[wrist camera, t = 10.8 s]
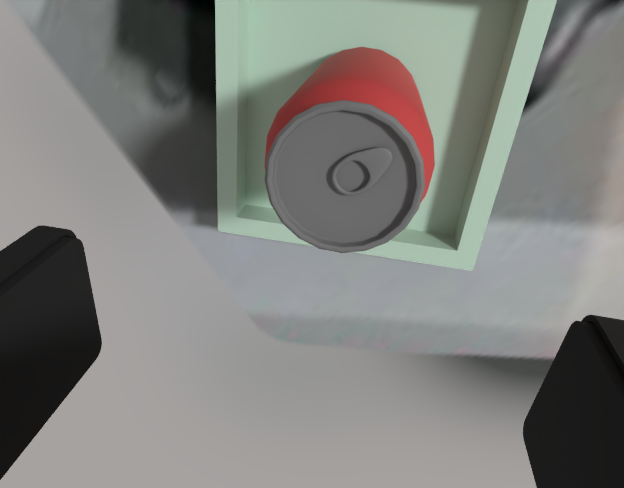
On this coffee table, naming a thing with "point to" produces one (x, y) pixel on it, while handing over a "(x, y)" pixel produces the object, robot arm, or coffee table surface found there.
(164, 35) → the coffee table surface
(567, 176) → the coffee table surface
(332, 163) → the beer can
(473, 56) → the tray
